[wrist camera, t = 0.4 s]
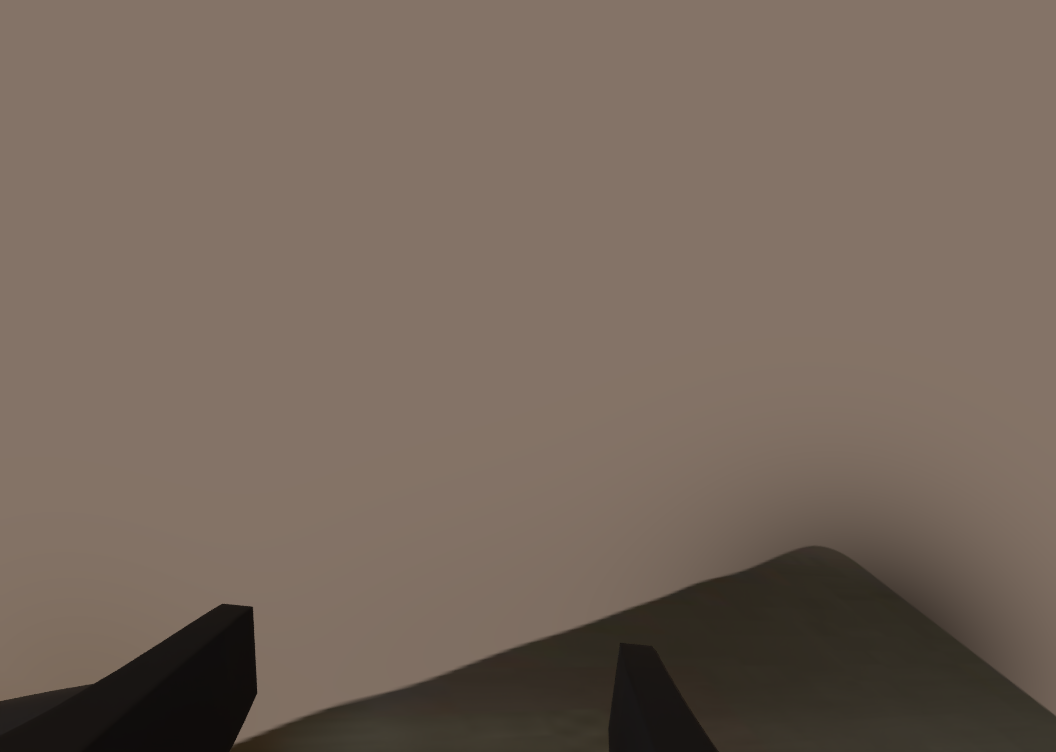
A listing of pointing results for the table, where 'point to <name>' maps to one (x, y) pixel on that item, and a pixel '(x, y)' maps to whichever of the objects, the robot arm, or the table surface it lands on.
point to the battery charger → (32, 706)
